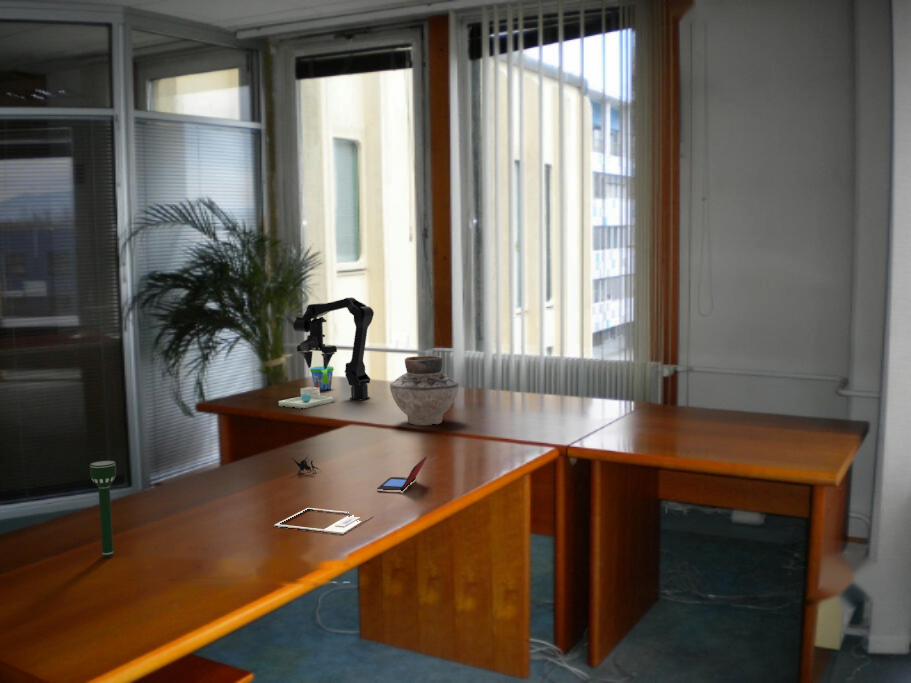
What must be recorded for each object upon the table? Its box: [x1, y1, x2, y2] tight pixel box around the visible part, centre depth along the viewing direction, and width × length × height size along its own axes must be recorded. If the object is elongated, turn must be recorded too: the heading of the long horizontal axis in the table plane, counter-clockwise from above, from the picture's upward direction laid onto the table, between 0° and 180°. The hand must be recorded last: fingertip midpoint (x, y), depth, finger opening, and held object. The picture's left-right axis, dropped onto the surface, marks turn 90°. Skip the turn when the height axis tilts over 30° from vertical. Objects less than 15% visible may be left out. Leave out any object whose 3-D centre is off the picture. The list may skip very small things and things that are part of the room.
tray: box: [278, 395, 335, 410], centre depth 376 cm, size 14×18×2 cm
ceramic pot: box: [389, 355, 460, 426], centre depth 332 cm, size 25×25×24 cm
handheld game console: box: [377, 456, 427, 491], centre depth 243 cm, size 12×11×7 cm
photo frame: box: [274, 507, 361, 535], centre depth 213 cm, size 15×1×18 cm
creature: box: [290, 454, 321, 477], centre depth 258 cm, size 8×5×8 cm
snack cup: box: [309, 365, 335, 391], centre depth 415 cm, size 16×10×10 cm
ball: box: [300, 393, 311, 402], centre depth 376 cm, size 4×4×4 cm
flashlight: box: [89, 459, 117, 559], centre depth 190 cm, size 5×5×20 cm
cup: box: [300, 386, 321, 397], centre depth 392 cm, size 8×8×4 cm
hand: (317, 368), depth 397 cm, fingers open, 9 cm apart
